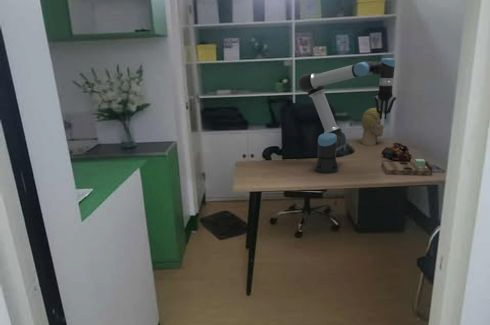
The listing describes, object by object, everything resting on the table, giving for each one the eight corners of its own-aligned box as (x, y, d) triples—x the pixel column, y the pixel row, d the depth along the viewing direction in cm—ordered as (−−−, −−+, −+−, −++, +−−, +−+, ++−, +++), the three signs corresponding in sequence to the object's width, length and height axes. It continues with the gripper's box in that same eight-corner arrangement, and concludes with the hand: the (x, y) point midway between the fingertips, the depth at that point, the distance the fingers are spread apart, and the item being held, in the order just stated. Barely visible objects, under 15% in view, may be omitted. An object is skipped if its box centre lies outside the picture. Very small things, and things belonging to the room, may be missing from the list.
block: (416, 167, 225) (416, 161, 223) (414, 164, 229) (414, 158, 228) (424, 167, 224) (425, 161, 222) (422, 165, 228) (423, 159, 227)
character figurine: (395, 136, 261) (416, 147, 234) (400, 149, 264) (422, 161, 238) (374, 148, 262) (393, 160, 235) (379, 160, 265) (398, 173, 239)
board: (386, 174, 223) (386, 165, 221) (381, 165, 240) (382, 157, 239) (431, 175, 217) (432, 166, 216) (423, 166, 235) (424, 158, 234)
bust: (384, 146, 290) (387, 109, 282) (361, 146, 294) (363, 109, 286) (381, 141, 307) (384, 106, 299) (360, 141, 311) (361, 106, 303)
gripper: (375, 85, 211) (371, 125, 218) (399, 85, 209) (394, 125, 216) (373, 84, 218) (369, 123, 225) (396, 84, 216) (391, 123, 223)
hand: (382, 124), depth 221 cm, fingers closed
